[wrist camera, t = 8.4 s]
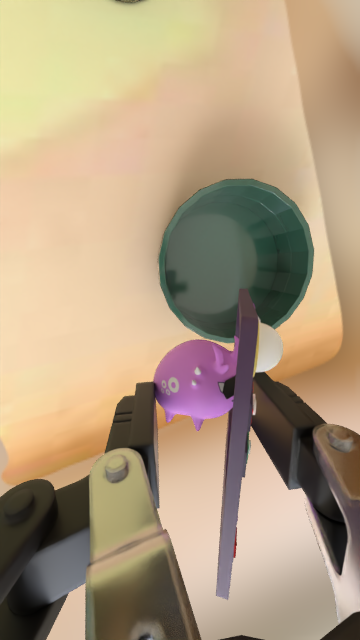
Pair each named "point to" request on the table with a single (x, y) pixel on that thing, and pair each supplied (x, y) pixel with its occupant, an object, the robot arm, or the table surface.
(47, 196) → the table surface
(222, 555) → the game card
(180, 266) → the bowl
